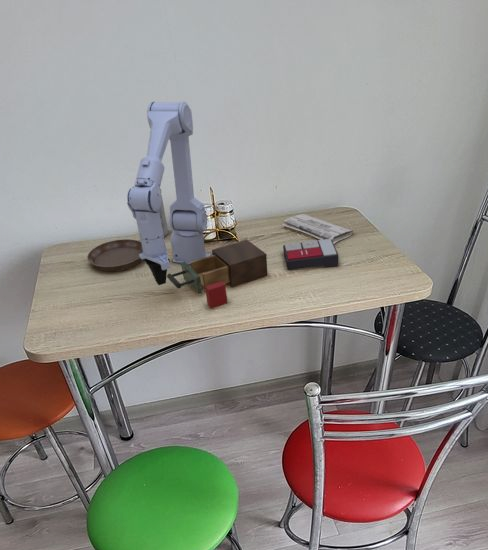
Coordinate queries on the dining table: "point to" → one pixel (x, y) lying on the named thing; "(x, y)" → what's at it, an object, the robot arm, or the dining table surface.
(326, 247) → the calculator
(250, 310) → the dining table surface
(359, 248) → the dining table surface
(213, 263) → the drawer
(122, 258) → the plant saucer
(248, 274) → the cabinet
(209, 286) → the card box
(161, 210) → the energy drink can
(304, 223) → the newspaper
